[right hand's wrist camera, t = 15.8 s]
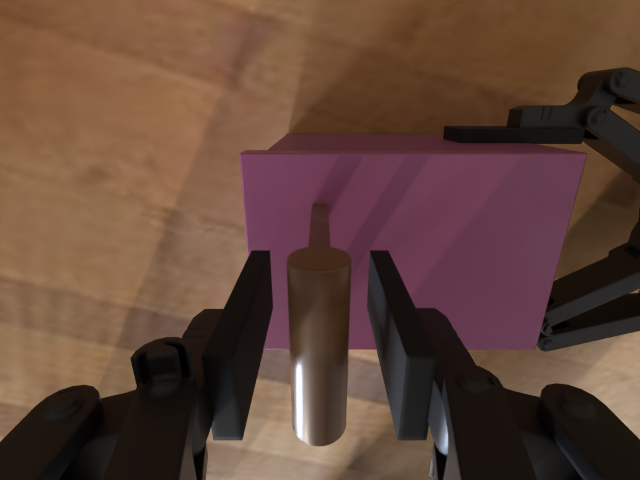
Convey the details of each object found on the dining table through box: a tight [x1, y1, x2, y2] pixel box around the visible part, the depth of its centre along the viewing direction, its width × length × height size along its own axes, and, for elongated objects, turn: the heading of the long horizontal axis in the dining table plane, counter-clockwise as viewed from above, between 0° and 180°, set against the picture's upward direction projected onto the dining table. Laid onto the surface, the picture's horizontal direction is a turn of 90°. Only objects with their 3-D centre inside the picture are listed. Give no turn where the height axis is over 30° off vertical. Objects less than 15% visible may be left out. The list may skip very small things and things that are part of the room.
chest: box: [268, 133, 569, 151], centre depth 22 cm, size 14×10×11 cm
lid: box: [240, 150, 587, 446], centre depth 14 cm, size 15×10×8 cm
